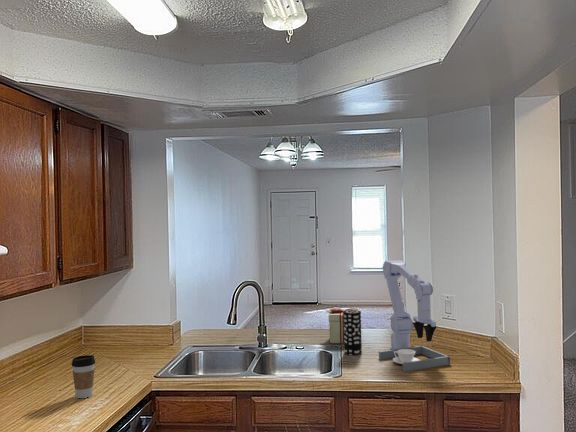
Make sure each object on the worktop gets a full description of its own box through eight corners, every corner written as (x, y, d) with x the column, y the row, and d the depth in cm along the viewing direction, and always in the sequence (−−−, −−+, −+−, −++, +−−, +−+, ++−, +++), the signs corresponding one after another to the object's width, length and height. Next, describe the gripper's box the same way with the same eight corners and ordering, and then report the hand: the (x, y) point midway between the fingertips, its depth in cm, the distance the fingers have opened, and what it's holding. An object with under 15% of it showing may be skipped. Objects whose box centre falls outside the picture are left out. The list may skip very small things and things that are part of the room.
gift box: (356, 335, 274) (355, 304, 274) (360, 344, 255) (359, 310, 255) (325, 335, 274) (325, 304, 274) (327, 344, 256) (326, 311, 256)
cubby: (378, 359, 228) (378, 351, 228) (421, 353, 237) (421, 345, 237) (404, 371, 209) (404, 363, 209) (450, 364, 217) (450, 356, 217)
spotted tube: (363, 351, 241) (362, 310, 241) (358, 356, 233) (358, 313, 233) (347, 350, 244) (346, 309, 244) (342, 354, 237) (341, 312, 237)
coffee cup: (84, 401, 182) (83, 360, 182) (67, 398, 185) (66, 358, 185) (100, 393, 190) (100, 354, 190) (83, 391, 193) (83, 353, 193)
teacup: (395, 358, 229) (394, 346, 229) (421, 360, 225) (421, 348, 225) (390, 365, 218) (390, 353, 218) (418, 368, 213) (418, 356, 213)
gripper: (407, 307, 230) (407, 336, 230) (426, 313, 217) (427, 344, 217) (420, 306, 233) (420, 335, 233) (439, 311, 219) (440, 342, 219)
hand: (424, 339), depth 225 cm, fingers open, 6 cm apart
